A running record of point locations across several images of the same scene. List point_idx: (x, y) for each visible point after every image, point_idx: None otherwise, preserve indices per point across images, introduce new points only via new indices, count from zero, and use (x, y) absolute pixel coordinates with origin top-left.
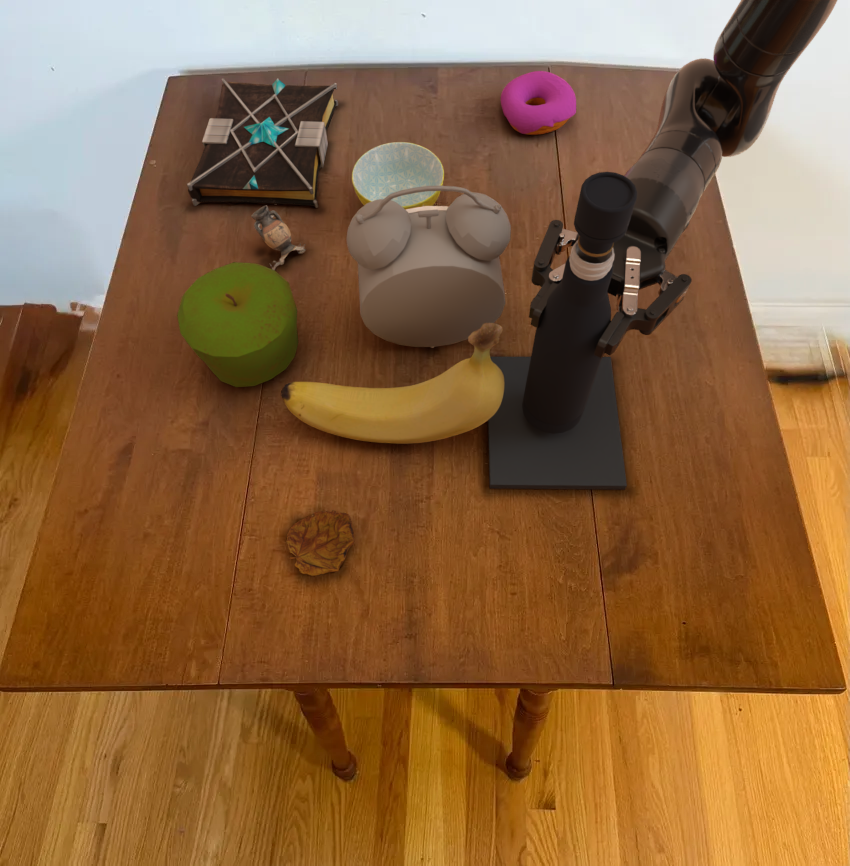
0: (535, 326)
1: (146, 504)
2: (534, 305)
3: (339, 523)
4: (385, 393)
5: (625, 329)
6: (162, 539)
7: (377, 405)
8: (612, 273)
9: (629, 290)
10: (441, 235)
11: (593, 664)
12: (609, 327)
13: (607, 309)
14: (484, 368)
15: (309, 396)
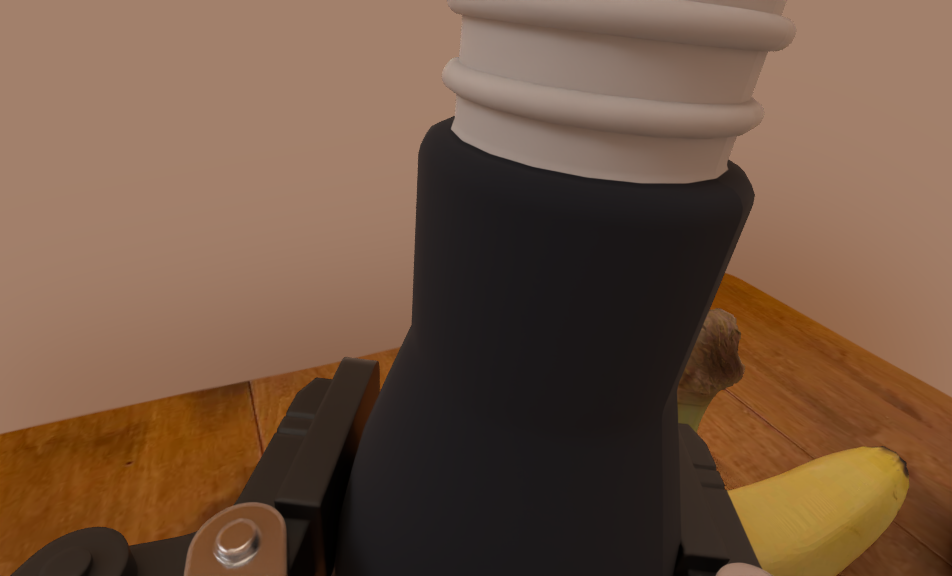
0: None
1: (815, 374)
2: (683, 435)
3: None
4: (780, 536)
5: (263, 457)
6: (762, 355)
7: (763, 507)
8: (420, 151)
9: None
10: None
11: (274, 385)
12: (345, 411)
13: (377, 406)
14: None
15: (854, 457)
